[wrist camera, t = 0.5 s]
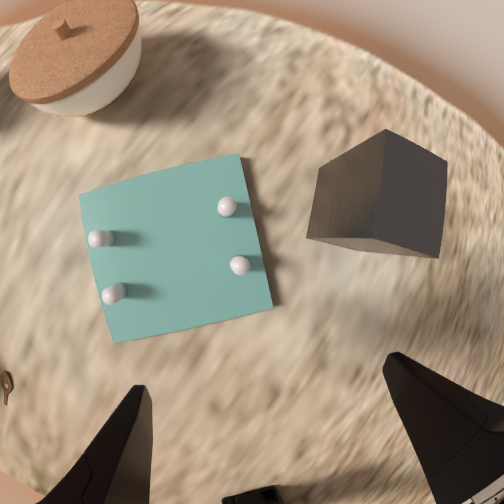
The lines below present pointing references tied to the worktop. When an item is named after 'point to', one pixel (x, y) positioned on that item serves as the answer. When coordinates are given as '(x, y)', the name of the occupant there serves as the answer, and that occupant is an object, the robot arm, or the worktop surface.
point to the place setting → (4, 379)
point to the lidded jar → (78, 57)
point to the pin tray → (175, 249)
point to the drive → (382, 198)
